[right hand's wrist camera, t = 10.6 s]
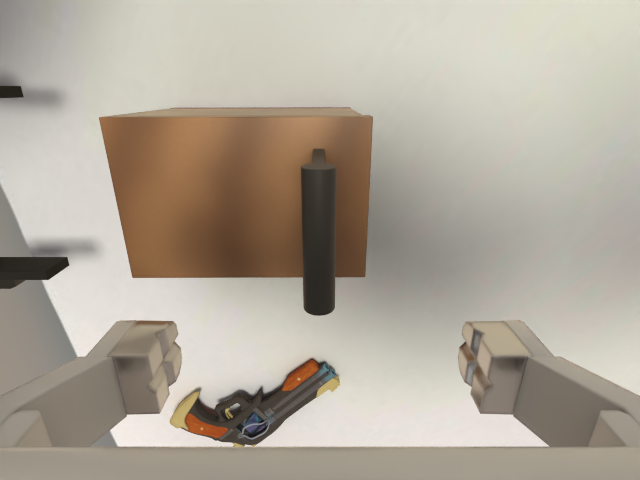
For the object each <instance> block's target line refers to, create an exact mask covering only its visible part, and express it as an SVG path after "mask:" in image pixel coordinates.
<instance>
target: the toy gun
mask: <svg viewBox="0 0 640 480" xmlns="http://www.w3.org/2000/svg"><path fill="white" fill-rule="evenodd" d="M339 385H340V384H339V378H338V377H337V376H336V374H335V372H334V370H333V369H329V367H328V365H327V364H321V365H318V364H317V363H316V362H315V361H314V360H310V361H309V362H307V363H306V364H305V365H303V366H302V367H300V368H299V369H297V370H296V371H295V372H293V373H292V374H290V375H289V376H288V377H287V379H286V381H285V383H284V385H283V387H282V388H281V389H280V390H279V391H277V392H276V393H275V394H273V395H272V396H270V397H268V398H265V399H262V396H263V394H262V389H261V390H260V391H259V393H258V394H257V396H256V397H255V398H254V399H253V400H249V399H248V398H247V397H246V396H245V395H242V394H236V395H235V396H234V397H232V398H231V399H229V400H227V401H225V402H222V403H219V404H217V405H216V407H215V411H216V412H217V414H218V415H219V417H218V416H215V415H213V414H210V413H208V412H206V411H204V410H203V409H202V407H201V406H200V405H199V403H198V401H197V398H198V396H199V394H200V393H199V392H197V391H196V392H194V393H192V394H191V395H190V396H188V397H187V398H186V399H185V400H183V401H182V402H181V403H180V404H179V406H178V407H177V408H176V410H175V412H174V414H173V415H172V417H171V419H170V424H171V425H173V426H174V427H176V428H182V429H184V430H186V431H188V432H191V433H194V434H197V435H202V436H206V437H210V438H212V439H214V440H216V441H217V440H218V441H221V442H232V443H233V444H234V446H233V447H244V446H245V444H246V445H252V446H253V447H255V446H256V444H258V443H259V442H261V441H262V440H264V439H265V438H266V437H268V436H269V435H270V434H272V433H273V432H274V431H275V430H276V429H277V428H278V427H279V426H280V425H281V424H282V423H283V422H284V421H285V420H286V419H287V418H288V417H289V416H291V415H292V414H293V413H295V412H296V411H298V410H299V409H300V408H302V407H303V406H304V405H306V404H307V403H309V402H310V401H312V400H313V399H315V398H317V397H318V396H320V395H321V394H322V393H324V392H325V391H327V390H328V389H330V390H331V391H332V392H333V391H334V390H335V389H336V388H337V387H338V386H339ZM235 403H239V404H240V405H241V408H242V409H240V410H239V411H238V412H236V413H235V414H234V415H232V414H231V413H230V412H229V409H230V406H232V405H234V404H235ZM223 409H225V413H226V415H225V414H224V413H223V411H222V410H223ZM227 413H228V414H229V415H230V416H229V415H228V414H227ZM249 416H250V417H249ZM247 417H249V418H248V420H247V422H246V423H245V420H246V418H247ZM267 418H268V419H267ZM242 421H244V426H242V425H241V424H240V423H241V422H242ZM266 421H268V422H269V424H268V425H267V426H266ZM265 426H266V427H265ZM261 429H262V430H261ZM259 430H260V431H259Z"/></svg>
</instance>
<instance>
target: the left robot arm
mask: <svg viewBox="0 0 640 480" xmlns="http://www.w3.org/2000/svg"><path fill="white" fill-rule="evenodd" d="M17 97H23V93H22V90H21V86H0V98H17ZM67 266H69V262H68V259H67V257H0V289H3V288H4V289H10V288H13V287H15V286H17V285H19V284H20V283H22V282H23V281H25V280H49V279H50V278H52V277H53V276H55V275H56V274H57V273H59V272H60V271H62V270H63V269H65V268H66V267H67Z"/></svg>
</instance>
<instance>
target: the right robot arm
mask: <svg viewBox="0 0 640 480" xmlns="http://www.w3.org/2000/svg"><path fill="white" fill-rule="evenodd" d="M177 336H178V331H177V326H176V324H175V323H174V322H173V321H136V320H129V321H118V322H116V323H115V324H114V325H113V326H112V327H111V329H110V330H109V331H108V332H107V333H106V334H105V335H104V336H103V338H102V339H101V340H100V341H99V342H98V343H97V344H96V345H95V347H94V348H93V349H92V350H91V351H90V352H89V353H88V354H87V356H86V357H78V358H76V359H74V360H72V361H70V362H68V363H66V364H64V365H62V366H60V367H58V368H56V369H54V370H52V371H50V372H48V373H46V374H44V375H42V376H40V377H38V378H36V379H34V380H32V381H29V382H27V383H25V384H23V385H21V386H19V387H17V388H15V389H13V390H11V391H9V392H7V393H5V394H3V395H1V396H0V480H640V396H639V395H637V394H635V393H633V392H631V391H629V390H627V389H625V388H623V387H621V386H619V385H617V384H614V383H612V382H610V381H608V380H606V379H604V378H602V377H600V376H598V375H596V374H594V373H592V372H590V371H588V370H586V369H584V368H582V367H580V366H578V365H576V364H574V363H572V362H570V361H568V360H566V359H564V358H562V357H554V356H553V354H552V353H551V352H550V351H549V350H548V349H547V348H546V347H545V345H544V344H543V343H542V342H541V341H540V340H539V339H538V338H537V336H536V335H535V334H534V333H533V332H532V331H531V330H530V329H529V327H528V326H527V325H526V324H525V323H524V322H522V321H520V320H512V321H482V322H465V324H464V326H463V330H462V336H463V337H464V339H465V341H466V342H465V343H464V344H463V345H462V346H461V347H460V348H459V355H458V361H459V369H460V373H461V376H462V378H463V380H464V382H466V383H467V384H468V385H470V386H471V387H472V389H471V396H472V398H473V400H474V402H475V404H476V406H477V408H478V410H479V412H480V414H514V415H513V416H514V417H515V418H516V419H518V420H519V421H520V422H521V423H522V424H524V425H525V426H526V427H527V428H528V429H530V430H531V431H532V432H533V433H534V434H536V435H537V436H538V437H539V438H540V439H542V440H543V441H544V442H545V443H546V444H548V445H549V446H550V447H90V446H91V445H92V444H94V443H95V442H96V441H97V440H98V439H100V438H101V437H102V436H103V435H104V434H106V433H107V432H108V431H109V430H111V429H112V428H113V427H114V426H115V425H117V424H118V423H119V422H120V421H121V420H123V419H124V418H125V417H126V416H127V415H126V414H160V412H161V410H162V408H163V406H164V404H165V402H166V400H167V398H168V396H169V389H168V387H169V386H170V385H172V384H173V383H174V382H176V380H177V378H178V375H179V373H180V368H181V364H182V354H181V348H180V347H179V346H178V345H177V344H176V343H175V342H174V341H175V339H176V337H177Z"/></svg>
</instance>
